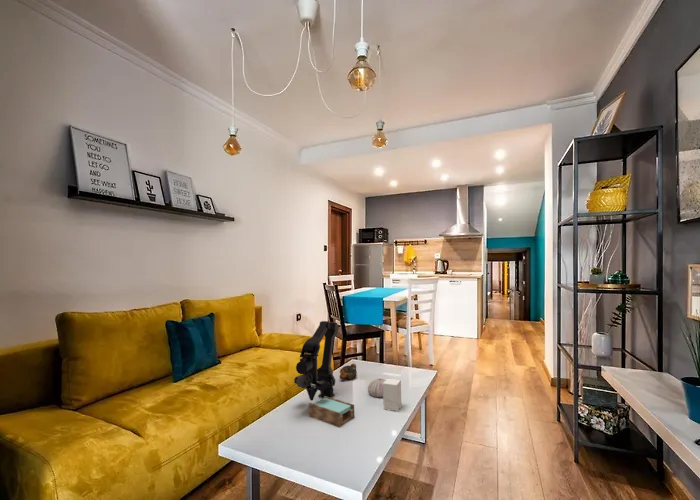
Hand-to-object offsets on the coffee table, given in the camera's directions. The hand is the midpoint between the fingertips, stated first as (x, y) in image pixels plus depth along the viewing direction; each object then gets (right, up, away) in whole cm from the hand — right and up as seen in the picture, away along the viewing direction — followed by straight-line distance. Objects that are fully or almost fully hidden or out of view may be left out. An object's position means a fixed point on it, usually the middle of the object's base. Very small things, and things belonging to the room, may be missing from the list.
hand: (311, 400), depth 158 cm
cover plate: (+10, 0, -8) cm, 13 cm away
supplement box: (+40, -4, +1) cm, 40 cm away
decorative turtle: (+18, -7, +43) cm, 47 cm away
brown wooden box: (+10, -4, -8) cm, 14 cm away
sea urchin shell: (+35, -6, +18) cm, 40 cm away
